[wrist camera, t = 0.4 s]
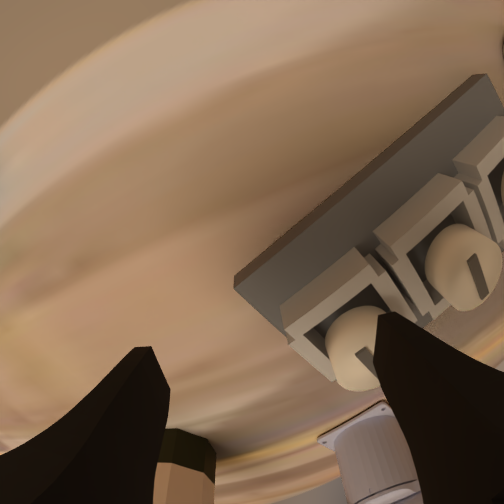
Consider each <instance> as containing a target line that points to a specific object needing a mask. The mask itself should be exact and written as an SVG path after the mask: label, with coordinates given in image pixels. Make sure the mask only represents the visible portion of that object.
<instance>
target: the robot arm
mask: <svg viewBox="0 0 504 504" xmlns="http://www.w3.org/2000/svg"><path fill="white" fill-rule="evenodd" d="M373 365H374V368H375V371H376V374H377V377H378V380H379V383H380V386H381V388H382V390H383V392H384V395H385V397H386V399H387V401H388V403H389V405H390V406H389V405H388V404H386V403H385V402H380V403H378V404H376V405H375V406H373V407H371V408H370V409H368V410H367V411H365V412H363V413H362V414H360V415H358V416H357V417H355V418H353V419H351V420H350V421H348V422H346V423H344V424H342V425H341V426H339V427H337V428H335V429H333V430H331V431H330V432H328V433H326V434H324V435H322V436H320V437H318V438H317V442H318V443H319V444H321V445H323V446H325V447H327V448H329V449H331V450H333V451H335V453H336V457H337V461H338V465H339V469H340V474H341V478H342V482H343V486H344V491H345V495H346V499H347V504H504V372H502V371H499V370H497V369H495V368H492V367H490V366H488V365H485V364H483V363H481V362H479V361H477V360H475V359H473V358H471V357H469V356H467V355H466V354H464V353H462V352H460V351H458V350H456V349H455V348H453V347H451V346H450V345H448V344H446V343H445V342H443V341H441V340H440V339H438V338H437V337H435V336H433V335H432V334H430V333H429V332H427V331H426V330H424V329H422V328H421V327H419V326H418V325H416V324H415V323H413V322H412V321H410V320H409V319H407V318H405V317H404V316H402V315H400V314H399V313H397V312H395V311H394V312H389V313H385V314H381V315H378V319H377V329H376V339H375V347H374V355H373ZM169 401H170V387H169V385H168V383H167V381H166V379H165V377H164V374H163V372H162V370H161V368H160V365H159V363H158V361H157V358H156V356H155V354H154V351H153V349H152V347H151V346H148V347H134V348H133V349H132V350H131V351H130V352H129V353H128V354H127V355H126V356H125V357H124V358H123V359H122V360H121V361H120V362H119V363H118V364H117V365H116V366H115V367H114V368H113V369H112V370H111V371H110V373H109V374H108V375H107V376H106V377H105V378H104V379H103V380H102V381H101V382H100V383H99V384H98V385H97V386H96V387H95V388H94V389H93V390H92V391H91V392H90V393H89V394H88V395H86V396H85V397H84V398H83V399H82V400H81V401H80V402H79V403H78V404H77V405H76V406H75V407H74V408H73V409H71V410H70V411H69V412H68V413H67V414H66V415H64V416H63V417H62V418H61V419H59V420H58V421H57V422H55V423H54V424H53V425H52V426H50V427H49V428H47V429H46V430H45V431H43V432H41V433H40V434H38V435H37V436H35V437H34V438H32V439H31V440H29V441H27V442H26V443H24V444H22V445H20V446H19V447H17V448H15V449H13V450H11V451H9V452H7V453H5V454H2V455H0V504H153V495H154V481H155V474H156V468H157V463H158V459H159V454H160V450H161V445H162V441H163V436H164V432H165V427H166V423H167V418H168V411H169Z"/></svg>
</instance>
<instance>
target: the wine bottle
mask: <svg viewBox="0 0 504 504" xmlns="http://www.w3.org/2000/svg"><path fill="white" fill-rule="evenodd" d="M215 469H216V452H215V451H214V449H213V448H212V446H211V445H210V443H209V442H208V440H207V439H205V438H202V437H199V436H196V435H193V434H191V433H188V432H185V431H182V430H180V429H165V432H164V436H163V441H162V445H161V450H160V454H159V459H158V463H157V468H156V474H155V481H154V495H153V504H214V488H215Z"/></svg>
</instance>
